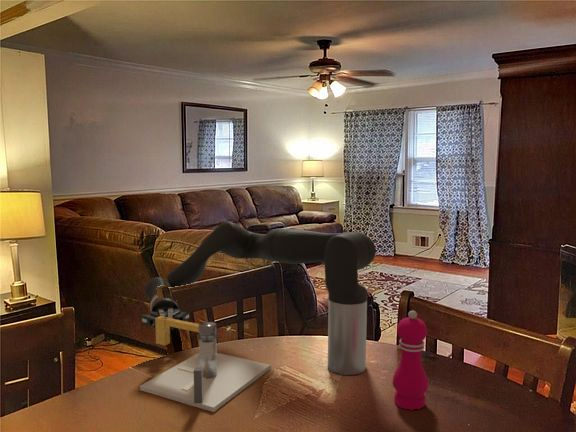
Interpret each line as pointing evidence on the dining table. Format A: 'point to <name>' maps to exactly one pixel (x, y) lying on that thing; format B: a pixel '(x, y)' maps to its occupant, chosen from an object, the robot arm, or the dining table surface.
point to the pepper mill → (411, 364)
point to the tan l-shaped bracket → (163, 328)
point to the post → (208, 358)
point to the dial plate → (206, 381)
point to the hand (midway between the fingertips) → (168, 328)
